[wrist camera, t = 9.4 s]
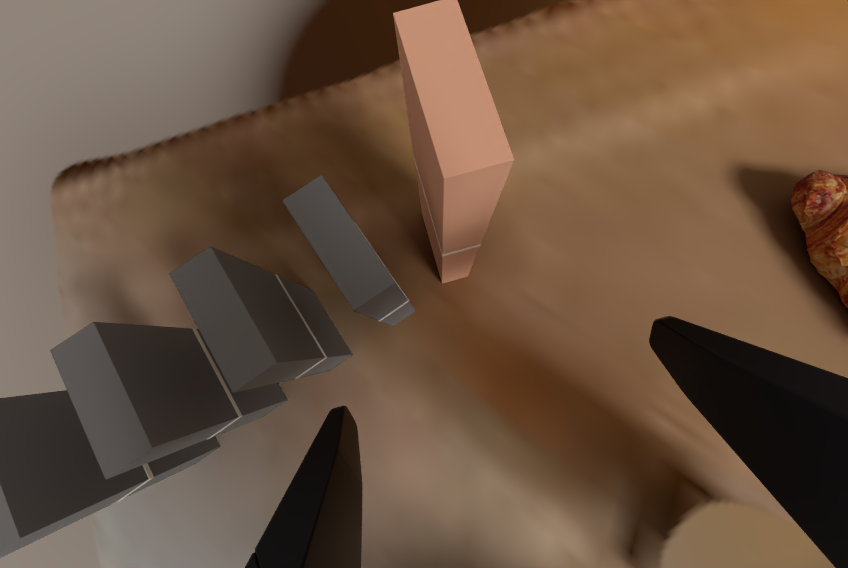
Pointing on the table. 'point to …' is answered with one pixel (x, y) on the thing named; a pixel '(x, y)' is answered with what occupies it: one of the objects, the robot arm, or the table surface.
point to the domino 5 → (451, 133)
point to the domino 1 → (151, 392)
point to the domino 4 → (347, 254)
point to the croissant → (825, 225)
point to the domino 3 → (257, 321)
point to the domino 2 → (62, 469)
